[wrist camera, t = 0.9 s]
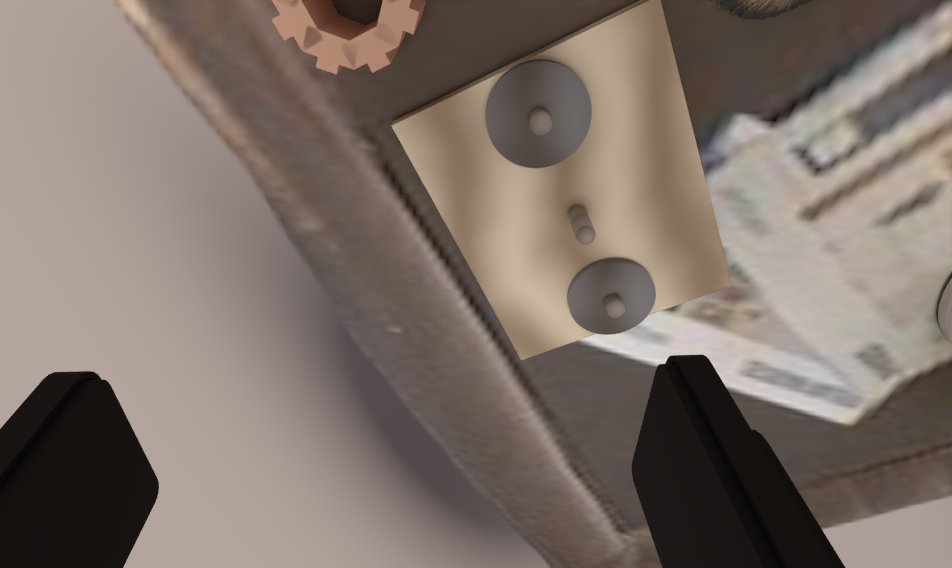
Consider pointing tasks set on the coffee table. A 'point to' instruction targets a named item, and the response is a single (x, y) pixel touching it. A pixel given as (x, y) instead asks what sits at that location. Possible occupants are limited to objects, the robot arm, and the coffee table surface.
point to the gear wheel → (347, 32)
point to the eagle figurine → (759, 7)
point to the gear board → (574, 183)
